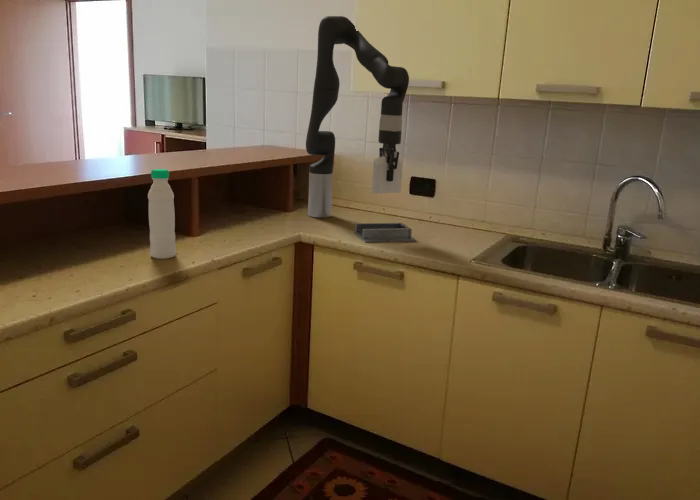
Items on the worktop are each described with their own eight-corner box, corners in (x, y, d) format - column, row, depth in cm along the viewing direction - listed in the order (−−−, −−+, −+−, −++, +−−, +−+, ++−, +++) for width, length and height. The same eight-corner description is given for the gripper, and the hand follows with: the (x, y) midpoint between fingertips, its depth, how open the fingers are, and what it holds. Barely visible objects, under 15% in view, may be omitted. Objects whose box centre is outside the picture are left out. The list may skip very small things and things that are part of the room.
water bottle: (153, 260, 164) (149, 171, 157) (148, 253, 170) (144, 168, 163) (178, 258, 167) (175, 170, 161) (173, 251, 173) (170, 167, 167)
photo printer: (375, 193, 196) (377, 156, 193) (369, 191, 200) (372, 155, 196) (402, 193, 200) (405, 156, 197) (396, 191, 204) (398, 155, 201)
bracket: (353, 232, 208) (354, 222, 207) (400, 231, 213) (401, 221, 212) (364, 242, 195) (365, 231, 194) (415, 241, 200) (415, 230, 199)
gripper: (373, 127, 200) (370, 176, 204) (386, 130, 187) (383, 183, 191) (393, 127, 202) (390, 177, 206) (408, 131, 189) (404, 183, 193)
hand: (387, 179), depth 199 cm, fingers closed on photo printer, 4 cm apart
